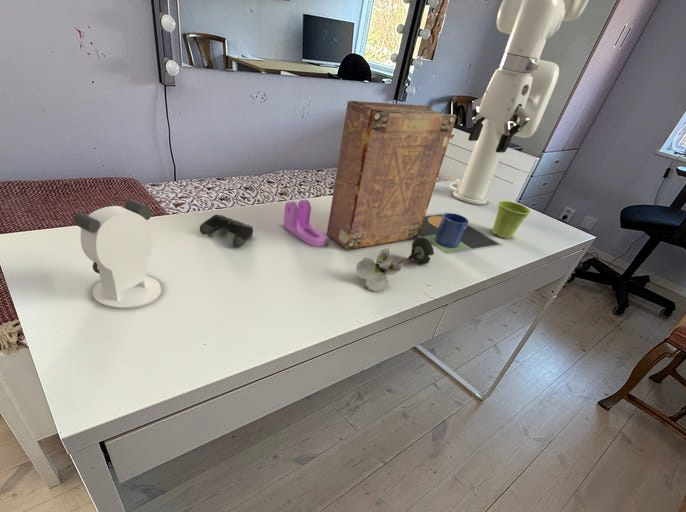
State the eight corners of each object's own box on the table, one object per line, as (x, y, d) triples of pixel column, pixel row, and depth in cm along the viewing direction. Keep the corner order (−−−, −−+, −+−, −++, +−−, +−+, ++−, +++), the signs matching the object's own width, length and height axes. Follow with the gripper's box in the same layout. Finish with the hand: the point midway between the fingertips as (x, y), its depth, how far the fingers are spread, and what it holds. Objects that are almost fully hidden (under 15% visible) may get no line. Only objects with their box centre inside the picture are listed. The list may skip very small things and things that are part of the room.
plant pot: (512, 231, 125) (525, 204, 119) (520, 243, 118) (535, 215, 112) (483, 226, 124) (495, 198, 119) (490, 238, 117) (503, 209, 112)
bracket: (283, 226, 103) (285, 199, 98) (300, 223, 106) (303, 197, 101) (313, 247, 96) (317, 220, 91) (330, 243, 99) (335, 216, 94)
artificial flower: (433, 274, 97) (453, 244, 88) (366, 306, 87) (381, 275, 78) (410, 250, 100) (427, 219, 91) (342, 278, 89) (355, 245, 81)
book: (396, 224, 115) (429, 105, 95) (418, 238, 109) (458, 115, 90) (326, 235, 102) (347, 100, 83) (346, 250, 97) (374, 110, 77)
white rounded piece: (134, 267, 78) (119, 190, 68) (176, 288, 74) (168, 210, 65) (78, 291, 69) (52, 207, 60) (123, 316, 66) (104, 231, 56)
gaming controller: (196, 233, 92) (198, 211, 90) (216, 230, 98) (219, 210, 96) (238, 249, 89) (241, 227, 86) (256, 245, 95) (259, 225, 93)
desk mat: (396, 219, 118) (396, 219, 118) (447, 214, 128) (447, 214, 128) (446, 252, 105) (446, 252, 105) (499, 244, 115) (499, 244, 115)
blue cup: (429, 238, 111) (437, 213, 106) (446, 235, 114) (455, 212, 109) (446, 249, 106) (455, 224, 102) (463, 246, 110) (473, 222, 105)
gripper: (557, 74, 87) (521, 156, 99) (499, 60, 98) (472, 136, 109) (537, 71, 84) (501, 157, 96) (478, 57, 94) (453, 136, 106)
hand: (486, 146), depth 102 cm, fingers open, 9 cm apart
